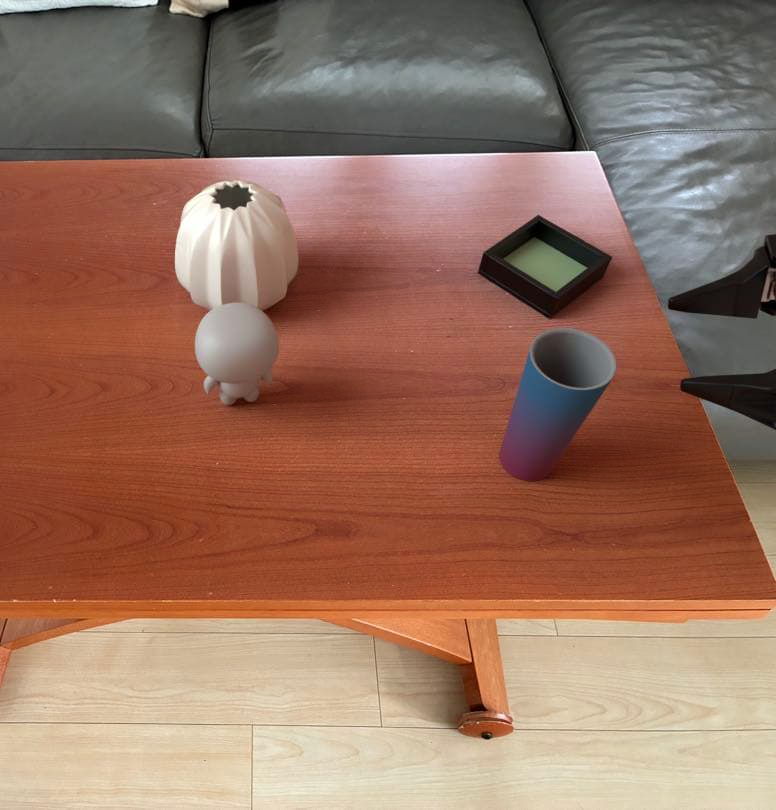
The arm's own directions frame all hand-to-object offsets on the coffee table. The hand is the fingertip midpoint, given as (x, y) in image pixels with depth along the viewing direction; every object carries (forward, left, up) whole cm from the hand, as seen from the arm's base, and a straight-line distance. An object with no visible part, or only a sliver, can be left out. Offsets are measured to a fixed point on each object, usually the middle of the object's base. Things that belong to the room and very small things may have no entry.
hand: (674, 342), depth 63 cm
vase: (+42, -12, -15) cm, 46 cm away
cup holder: (+8, -23, -15) cm, 29 cm away
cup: (+8, +4, -15) cm, 18 cm away
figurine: (+37, +4, -15) cm, 40 cm away
